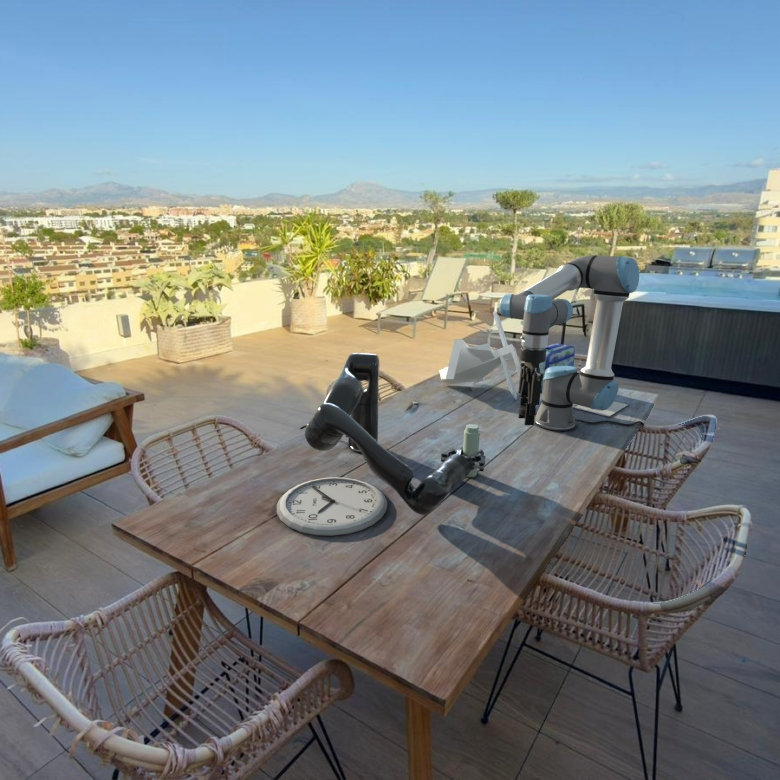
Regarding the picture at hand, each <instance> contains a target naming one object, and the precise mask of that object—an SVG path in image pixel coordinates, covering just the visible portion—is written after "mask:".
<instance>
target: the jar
mask: <svg viewBox="0 0 780 780" xmlns="http://www.w3.org/2000/svg"><path fill="white" fill-rule="evenodd" d="M479 429H480V427H479V425H478V424H475V423H469V424H466V425H465V429H464V430H463V442H462V443H463V445H462V447H463V455H464V456H469V455H472V454H474V455H475V454H477V453H478V452H479V451H480V449H479V448H480V437H481V431H480V430H479ZM477 474H478V468H474V469H473V470H471V471H470V472H469V474H468V475H467V476H466V477H465V478H475V477H476V476H477Z"/></svg>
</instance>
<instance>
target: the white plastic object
mask: <svg viewBox="0 0 780 780" xmlns="http://www.w3.org/2000/svg"><path fill="white" fill-rule="evenodd" d="M492 315H493V319H494V321H495V324H496V325H495V326H496V328H497V332H498V335H499V338H500V342H501V345H502V347H500V348H498V349H496V350H495V349H493V348H492V347H491V346H490V344H489V343H488V342H487V343H483V344H479V345H473V346H469V345H468V343H466V342H465V340H464V339H463V338H460V339H458V338H454V340H453V344H452V349H451V353H450V357H449V362H448V366H446V367H444V368H442V369H440V370H439V371H438V372H439V376H440V381H442V383H443V384H444V385H445V386H449V385H458V384H467V383H468V384H469V383H473V384H477V383H480V382H482V381H484V378H485V377H486V376H487V375H489V374H490V373H492V372H494V371H495V370H496V369H497V368H499V367H500V366H502V370H503V373H504V376H505V380H506V383H507V386H508V390H509V393H510V394H511V395H512V397H513V398H514V399H515V400H517V392H516V391H517V390H516V388H515V385H514V381H513V378H512V375H511V371H510V369H509V365H508V361H510V360H513V363H514V366H515V369H516V372H517V376H518V380H520V371H521V365H520V364H521V362H520V358H519V355H518V352H517V349H516V347H515V346H514V345H513V343H511V344H508V341H507V337H506V334H505V331H504V328H503V325H502V321H501V318H500V315H499V314H498V312H497V311H496V310H495V311H492Z"/></svg>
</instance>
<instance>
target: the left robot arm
mask: <svg viewBox="0 0 780 780" xmlns="http://www.w3.org/2000/svg"><path fill="white" fill-rule="evenodd" d="M380 362H381V361H380V358H379V356H378V354H376V353H364V352H363V353H361V352H353V353H351V354H349V355H348V357H347V358H346V360H345V363H344V364H343V367H342V369H341V372H340V374H339V375H338V377H337V378H336V379H335V381H334V383H333V384H332V385H331V387H330V388H329V390H328V392H327V394H326V396H325V398H324V400H323V403H321V404H320V405H319V406H318V407H317V409H316V410H315V412H314V413H313V415H312V416H311V418H310V419H309V421H307V423H306V425H303V426H301V427H299V430H303V429H304V438H305V440H306V442H307V444H308V445H309V446H310V448H313V449H314V450H316V451H319V452H326V451H330V450H332V449H333V448H334V447H335V446H336V445H337V444H339V442H340V441H341V439H342V437H343V436H345V438H348V449H351V450H352V451H353V452H356V453H361V455H362V456H363V459H364V461H365V463H366V465H367V467H368V468H369V470H370V472H371V473H372V474H373V475H374V476H375V477H376V478H378V479H379V480H380V481H382V482H383V483H384V484H386V485H387V486H389V487H390V488H392V489H393V490H394V491H395V492H396V493H397V494H398V496H399V497H400V498H401V499H402V500H403V501H404V503H405V504H406V505H407V506H408V508H409V509H410V510H411V511H413V512H414V513H416V514H417V515H422V516H428V515H430V514H432V512H433V511H434V510H435V509H436V508H437V507H438V506H439V505H440V504H441V503H442V502H443V501H444V500H445V499H446V497H447V496H448V495H449V494H450V493H452V491H453V490H454V489H455V488H456V487H457V486H459V485H460V484H461V483H462V482H463V481H464V480H465V479H466V478H467V477H466V476H467V475H468V474H469V472H470V471H471V470H473V469H474V468H477V470H479V472H484V471H485V465H486V458H487V457H486V455H485V451H484V450H483V449H479V450H478V453H477V454H475V455H474V454H472V455H469V456H464V455H463V446H461V447H460V448H458V449H457V450H456V449H455V448H451V449H448V450H446V451H444V452H441V454H440V462H441V463H440V464H439V465H438V467H437V468H435V470H434V471H433V472H432V473H430V474H429V475H427V476H426V477H425V478H424V479H423V480H422V481H421V482H420V483H419V484H418V485H417V487H415V486H414V485H413V483H412V480H413V478H414V475H415V472H414V469H413V467H411V466H409V465H408V464H406V463H405V462H404V461H402V460H401V459H399V458H398V457H397V456H395V455H394V454H393V453H391V452H390V451H388V450H387V449H386V448H385V447H384V446H382V445H381V444H380V443H379V383H380V382H379V381H380V366H381V364H380ZM361 382H367V385H365V386H363V385H362V383H361Z"/></svg>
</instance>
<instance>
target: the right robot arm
mask: <svg viewBox="0 0 780 780" xmlns="http://www.w3.org/2000/svg"><path fill="white" fill-rule="evenodd" d="M639 283H640V268H639V265H638V262H637V261H636V260H635V259H634V258H633V257H630V256H623V255H621V256H620V255H619V256H617V255H598V254H590V255H585V256H580V257H577V258H575V259H573V260H572V259H571V260H570V261H568V262H566V263H564V264H562V265H561V266H559V267H558V268H557V270H556V271H555V272H554V273H552V274H551V275H549V276H547V277H545V278H544V279H542V280H540V281H538V282H537V283H535V284H533V285H532V286H529V287H528V288H526V289H524V290H523V291H521V292H519V293H517V294H515V293H511V294H510V293H506V294H504V295H503V296H502V297H501V298H500V301H499V306H498V307H499V313H500V315H501V316H502V317H505V318H509V319H511V320H512V319H513V320H521V321H523V322H522V333H521V336H520V337H519V339H520V340H521V341H520V346H522V347H520V351H519V361H522V362H520V365H521V371H520V379H518V382H519V383H518V390H517V393H518V394H519V406H521V405H526V413H525V416H523V415H520V414H518V416H517V418H518V419H524V423H523V425H524V426H534V425H536V426H537V427H539V428H542V429H544V430H549V431H556V432H567V431H572V430H574V429H575V428H576V422H579V423H585V424H588V425H597V424H601V423H610V424H615V425H619V426H624V427H625V426H626V427H632V426H636V425H638V424H640V425H643V426H644V425H645V424H644V422H642V421H641V420H637V421H635V422H633V423H623V422H619V421H615V420H598V421H587V420H584V419H583V420H582V419H577V418H575V417H576V416H575V413H574V407H573V405H576V406H578V405H580V406H584V407H588V408H591V409H596V410H601V411H603V410H606V409H608V408H609V407H610V406H611V405H612V403H613V402H615V400H616V398H617V395H618V392H619V389H620V388H619V382H618V381H617V380H615V373H614V372H613V370H612V365H613V360H614V355H615V354H614V353H615V350H616V349H615V348H616V344H617V338H618V333H619V327H620V322H621V317H622V310H623V305H624V302H626V301H627V300H628V299H629V298H630V294H632V293H635V292H636V290H637V288H638V286H639ZM576 289H590V290H593V294H592V295H593V296H594V297H595V299H596V304H595V310H594V314H593V322H592V327H591V333H590V339H589V344H588V350H587V356H586V361H585V366H583V367H582V368H581V369H580V371H579V372H578V368H577V367H576V366H574V365H573V366H554V367H550V368H548V369H546V371H545V374H544V379H543V380H544V381H543V390H541V383H542V378H543V373H540V368H539V364H540V363H543V362H545V360H546V352H547V350H546V349H545V348H547V346H549V345H548V344H549V337H550V336H549V335H550V334H549V333H550V327H551V326H556V325H562V324H564V323H567V322H569V320H571V318H572V317H573V313H574V308H573V307H574V306H573V304H572V303H571V302H570V301H569V300H568V299H565V298H558V297H560V296H561V295H563V294H564V293H566V292H569V291H570V292H571V291H575V290H576ZM541 392H542V394H541ZM540 401H541V402H540ZM537 406H539V407H538V410H537ZM535 410H536V415H535Z"/></svg>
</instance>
